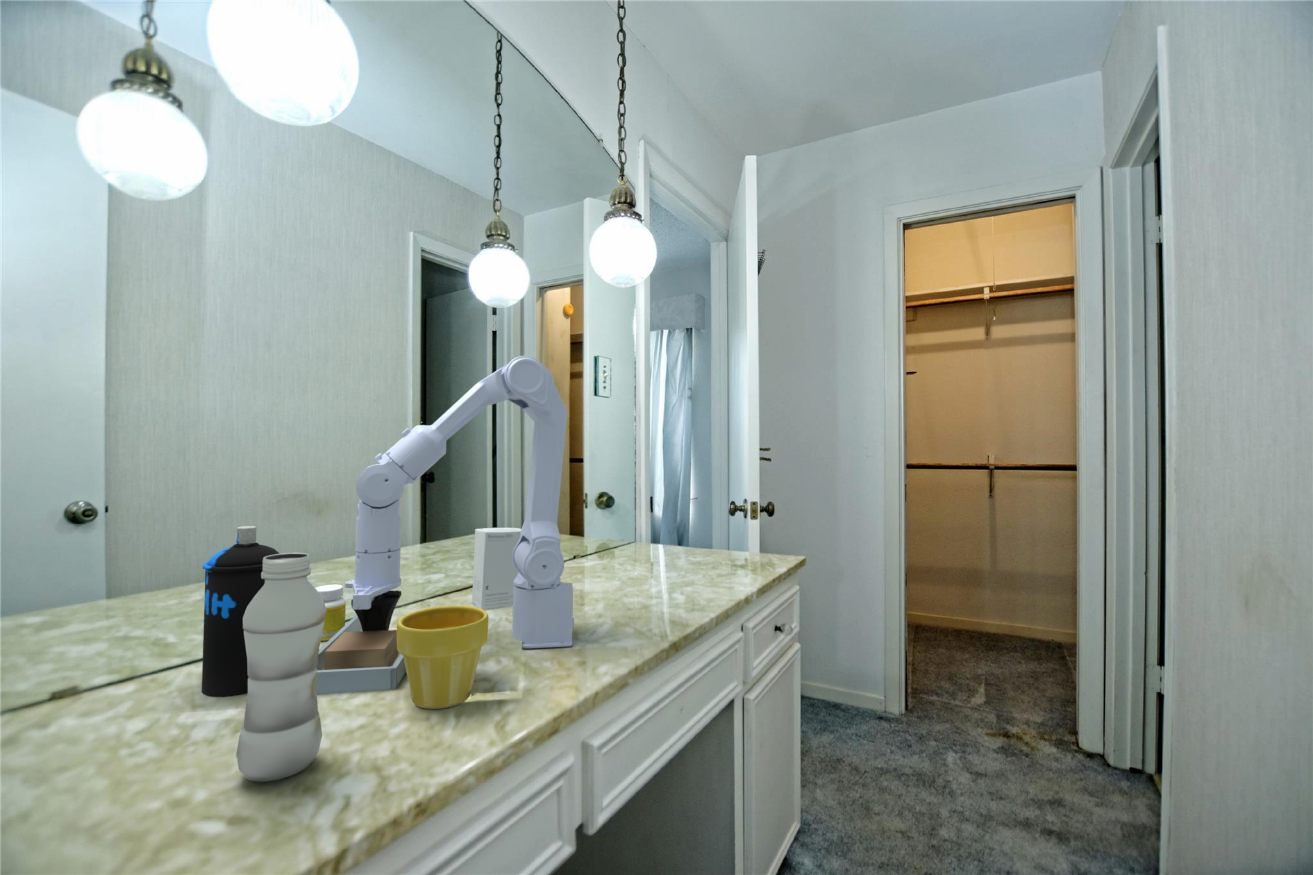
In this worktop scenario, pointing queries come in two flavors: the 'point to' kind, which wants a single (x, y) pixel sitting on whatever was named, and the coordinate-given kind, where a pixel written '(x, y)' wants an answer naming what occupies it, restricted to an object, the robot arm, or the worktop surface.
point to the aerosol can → (230, 612)
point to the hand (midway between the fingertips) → (375, 646)
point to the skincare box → (494, 567)
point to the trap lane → (357, 670)
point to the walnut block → (362, 650)
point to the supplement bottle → (332, 610)
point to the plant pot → (441, 652)
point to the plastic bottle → (282, 671)
